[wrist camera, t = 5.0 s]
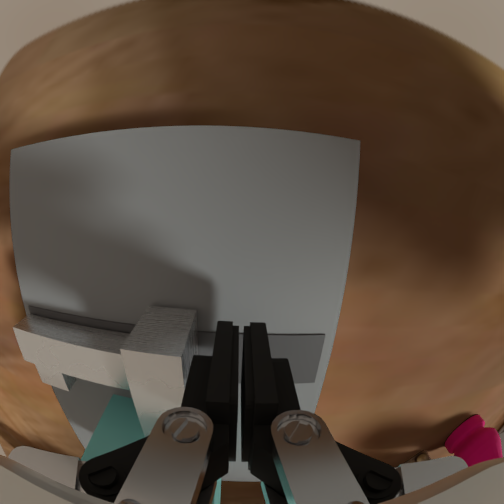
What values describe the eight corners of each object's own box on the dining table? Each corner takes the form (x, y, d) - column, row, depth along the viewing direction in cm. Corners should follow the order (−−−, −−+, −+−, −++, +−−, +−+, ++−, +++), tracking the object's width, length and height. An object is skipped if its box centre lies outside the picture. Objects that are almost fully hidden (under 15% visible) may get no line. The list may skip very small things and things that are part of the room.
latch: (196, 309, 11) (181, 357, 8) (201, 399, 12) (193, 449, 9) (23, 287, 10) (-16, 312, 7) (47, 367, 11) (20, 399, 8)
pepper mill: (435, 444, 22) (491, 547, 2) (477, 405, 20) (547, 501, 1) (447, 451, 23) (496, 537, 4) (484, 417, 22) (542, 498, 2)
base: (329, 150, 13) (361, 140, 9) (284, 443, 19) (290, 480, 15) (53, 151, 12) (9, 149, 8) (103, 423, 18) (88, 455, 14)
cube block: (220, 409, 12) (213, 509, 7) (222, 463, 14) (219, 537, 8) (113, 394, 12) (73, 476, 6) (135, 451, 14) (115, 518, 8)
